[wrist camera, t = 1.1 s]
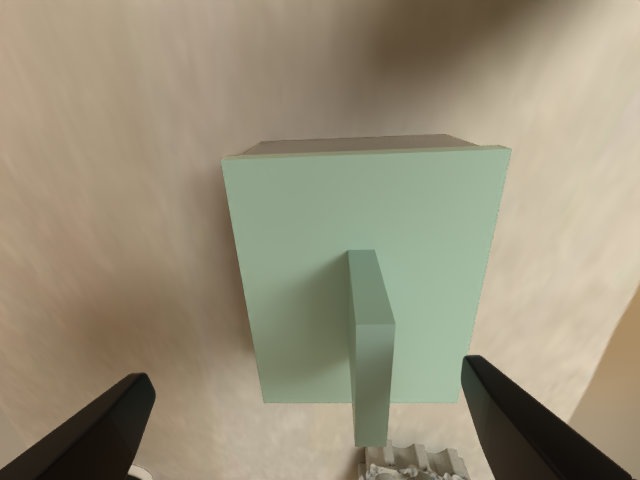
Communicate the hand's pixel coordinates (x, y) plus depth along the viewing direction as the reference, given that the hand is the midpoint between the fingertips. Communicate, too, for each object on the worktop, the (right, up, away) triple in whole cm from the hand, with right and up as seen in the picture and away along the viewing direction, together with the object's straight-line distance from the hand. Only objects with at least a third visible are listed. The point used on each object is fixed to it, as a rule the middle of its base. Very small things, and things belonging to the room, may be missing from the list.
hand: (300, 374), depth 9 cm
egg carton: (+10, -19, +24) cm, 32 cm away
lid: (+3, +1, +8) cm, 9 cm away
